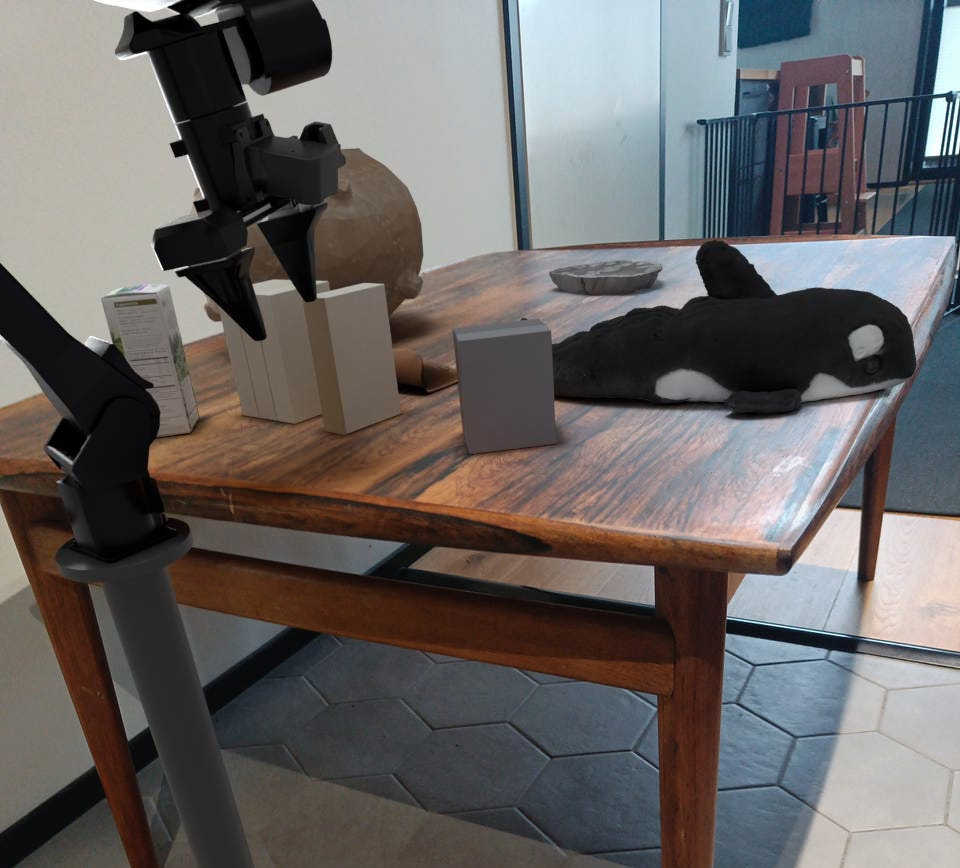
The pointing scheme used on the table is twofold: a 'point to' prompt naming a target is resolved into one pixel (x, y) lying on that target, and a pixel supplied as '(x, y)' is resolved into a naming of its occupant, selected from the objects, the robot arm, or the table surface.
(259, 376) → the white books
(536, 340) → the grey box
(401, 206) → the ceramic pot
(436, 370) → the sunglasses case
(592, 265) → the grey stone slab
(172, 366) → the syrup box
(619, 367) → the orca plush
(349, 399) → the book
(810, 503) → the table surface
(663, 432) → the table surface
